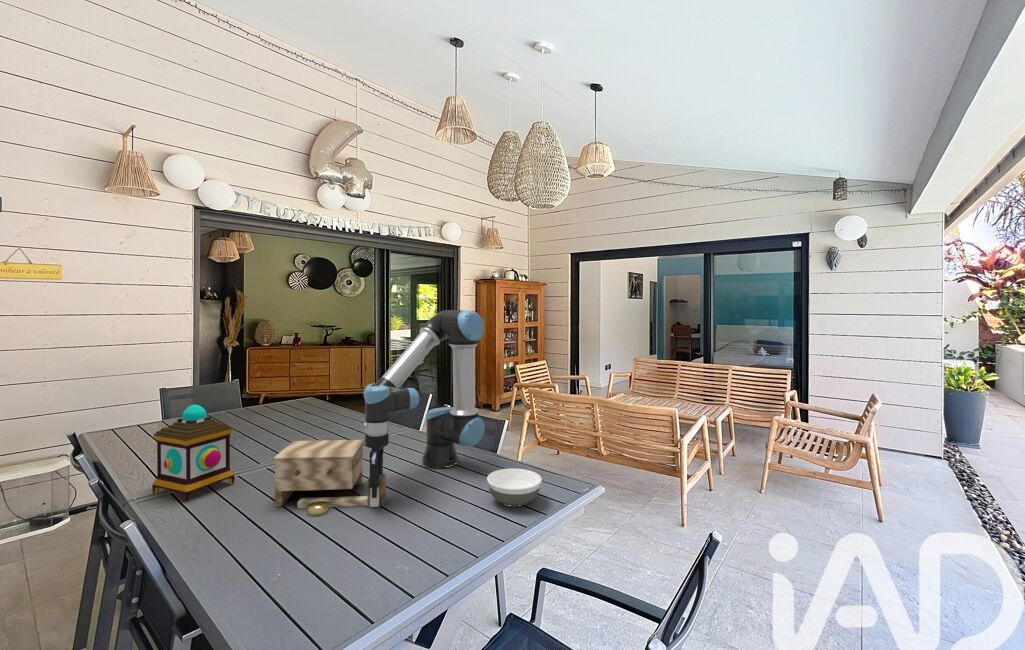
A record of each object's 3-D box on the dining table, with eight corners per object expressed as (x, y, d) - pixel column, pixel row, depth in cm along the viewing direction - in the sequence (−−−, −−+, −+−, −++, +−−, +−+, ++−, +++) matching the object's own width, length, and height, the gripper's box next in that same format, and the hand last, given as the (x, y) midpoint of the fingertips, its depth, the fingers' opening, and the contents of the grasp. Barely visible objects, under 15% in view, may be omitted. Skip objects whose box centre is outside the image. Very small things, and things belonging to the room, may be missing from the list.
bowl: (501, 518, 141) (501, 492, 140) (477, 496, 157) (478, 472, 157) (551, 507, 149) (552, 483, 149) (524, 487, 166) (525, 465, 166)
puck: (325, 506, 147) (325, 499, 147) (330, 513, 142) (330, 506, 142) (305, 511, 144) (305, 503, 143) (309, 518, 139) (309, 510, 139)
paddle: (385, 500, 152) (385, 473, 152) (383, 506, 148) (383, 479, 147) (301, 502, 149) (302, 476, 149) (296, 509, 144) (296, 481, 144)
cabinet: (364, 482, 168) (364, 439, 167) (352, 505, 148) (352, 457, 147) (293, 484, 164) (293, 441, 164) (271, 508, 145) (271, 459, 144)
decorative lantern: (144, 495, 153) (143, 407, 152) (202, 475, 171) (202, 397, 170) (185, 505, 146) (184, 413, 145) (241, 483, 164) (240, 401, 163)
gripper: (370, 426, 157) (369, 492, 158) (359, 441, 140) (358, 515, 140) (392, 426, 158) (391, 491, 159) (384, 441, 141) (383, 514, 141)
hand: (376, 502), depth 150 cm, fingers closed on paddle, 5 cm apart
